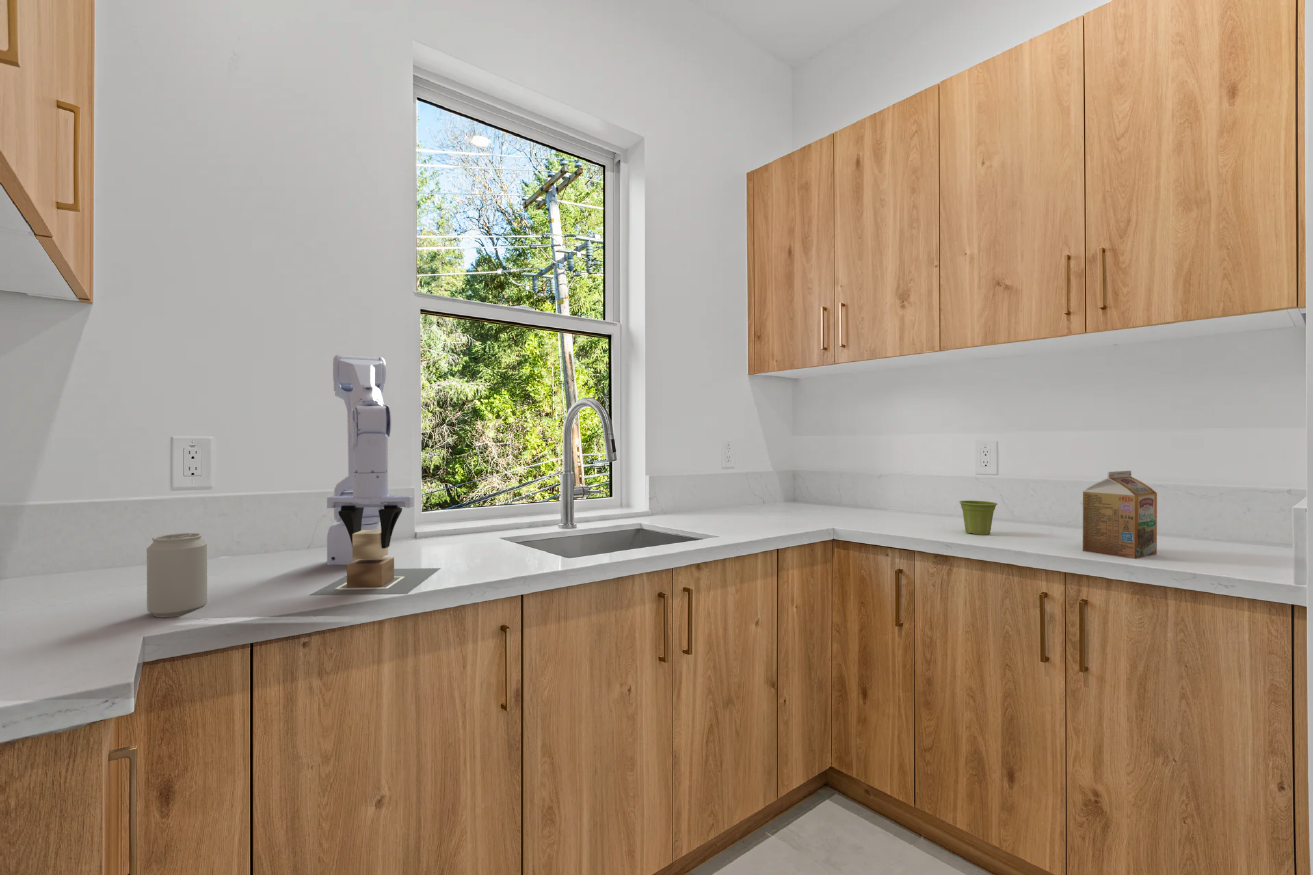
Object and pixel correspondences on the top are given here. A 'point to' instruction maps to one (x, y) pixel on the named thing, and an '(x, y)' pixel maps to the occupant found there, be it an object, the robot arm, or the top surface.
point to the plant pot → (978, 516)
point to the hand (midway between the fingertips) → (371, 547)
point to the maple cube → (368, 545)
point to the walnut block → (370, 572)
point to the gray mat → (399, 585)
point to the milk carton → (1120, 517)
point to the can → (176, 574)
